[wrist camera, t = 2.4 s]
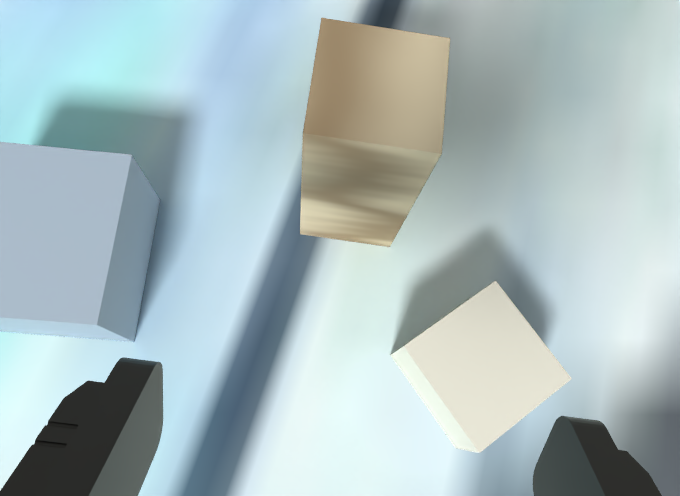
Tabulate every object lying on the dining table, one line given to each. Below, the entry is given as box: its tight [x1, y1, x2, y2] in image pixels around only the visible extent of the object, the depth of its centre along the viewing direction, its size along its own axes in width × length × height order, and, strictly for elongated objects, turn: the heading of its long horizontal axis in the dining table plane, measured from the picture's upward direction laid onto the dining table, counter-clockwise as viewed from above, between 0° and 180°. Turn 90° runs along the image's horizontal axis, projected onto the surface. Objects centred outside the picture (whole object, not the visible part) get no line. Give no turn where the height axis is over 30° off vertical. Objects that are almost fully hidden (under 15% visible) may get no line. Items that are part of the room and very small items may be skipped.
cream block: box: [391, 281, 571, 453], centre depth 24 cm, size 5×5×4 cm
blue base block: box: [0, 142, 160, 342], centre depth 23 cm, size 7×7×5 cm
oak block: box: [300, 18, 450, 247], centre depth 23 cm, size 4×4×10 cm
